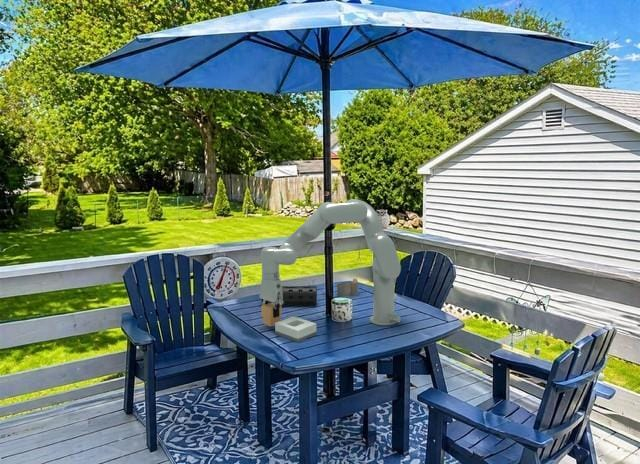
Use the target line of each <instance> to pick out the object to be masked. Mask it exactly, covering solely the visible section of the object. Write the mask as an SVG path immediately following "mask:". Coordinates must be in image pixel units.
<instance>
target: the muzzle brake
mask: <svg viewBox="0 0 640 464" xmlns="http://www.w3.org/2000/svg"><path fill="white" fill-rule="evenodd" d="M317 287H318V286H317V285H285V286H284V285H282V292H283V301H284V303H283V304H282V305H292V306H295V305H297V306H316V305H317V303H318V302H317V301H318V289H317ZM261 303H262V304H263V302H262V301H261ZM269 303H272V302H270V301H269Z"/></svg>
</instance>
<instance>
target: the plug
mask: <svg viewBox="0 0 640 464" xmlns="http://www.w3.org/2000/svg"><path fill="white" fill-rule="evenodd" d="M276 305H277V303H276ZM260 307H261V308H260V311H261V313H260V316H261V318H262V324H263V325H265V326H268V327H272V326H275V323H276V322H279V321H281V316H282V315H283V313H282V305H281V306H280V308H279V316H278V317H275V318H274V317H273V309H274V306H273V302H272V303H268V304H265V305H263V304H262V305H261V306H260Z"/></svg>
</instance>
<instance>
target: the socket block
mask: <svg viewBox="0 0 640 464" xmlns="http://www.w3.org/2000/svg"><path fill="white" fill-rule="evenodd" d="M274 328H275V329H274V330H275V331H274V334H275V335H277V336H280V337H282V338H285V339H288V340H290V341H294V342H295V343H300V342H302V340H303V341H305V340H308V339H310V338H312V337H315V336H316V334H317V323H316V322H312V321H310V320H306V319H303V318H300V317H297V316H294V315H293V316H290V317H287V318H285V319H281V320H280V321H279V322H276V323H275V325H274ZM314 335H315V336H314ZM309 337H310V338H309ZM307 338H308V339H307Z"/></svg>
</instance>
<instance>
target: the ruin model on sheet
mask: <svg viewBox="0 0 640 464" xmlns="http://www.w3.org/2000/svg"><path fill="white" fill-rule="evenodd" d="M336 296H337V297H338V298H339V297H358V296H359V282H358V278H353V279H352V281H347V282H346V281H345V282H343V281H342V282H340V283H339V282H338V281H337V282H336Z"/></svg>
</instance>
